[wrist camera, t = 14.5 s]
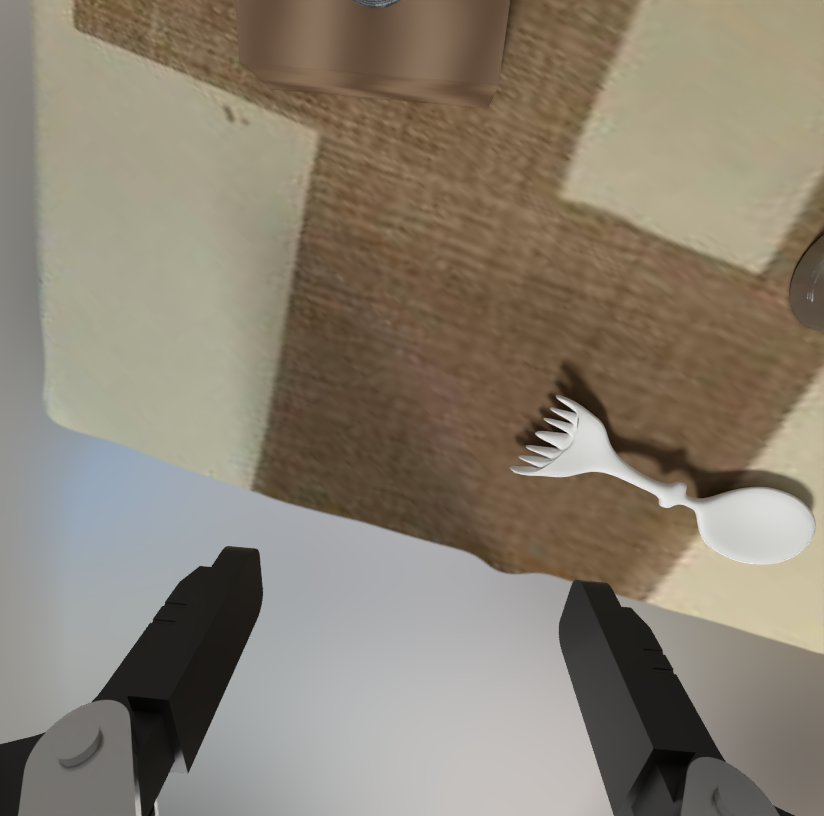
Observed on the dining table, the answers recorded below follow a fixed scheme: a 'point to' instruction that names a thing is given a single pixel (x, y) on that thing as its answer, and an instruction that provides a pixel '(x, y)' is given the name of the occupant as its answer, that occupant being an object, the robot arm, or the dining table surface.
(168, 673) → the robot arm
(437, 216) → the dining table surface
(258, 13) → the stand
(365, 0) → the pill bottle
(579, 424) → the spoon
